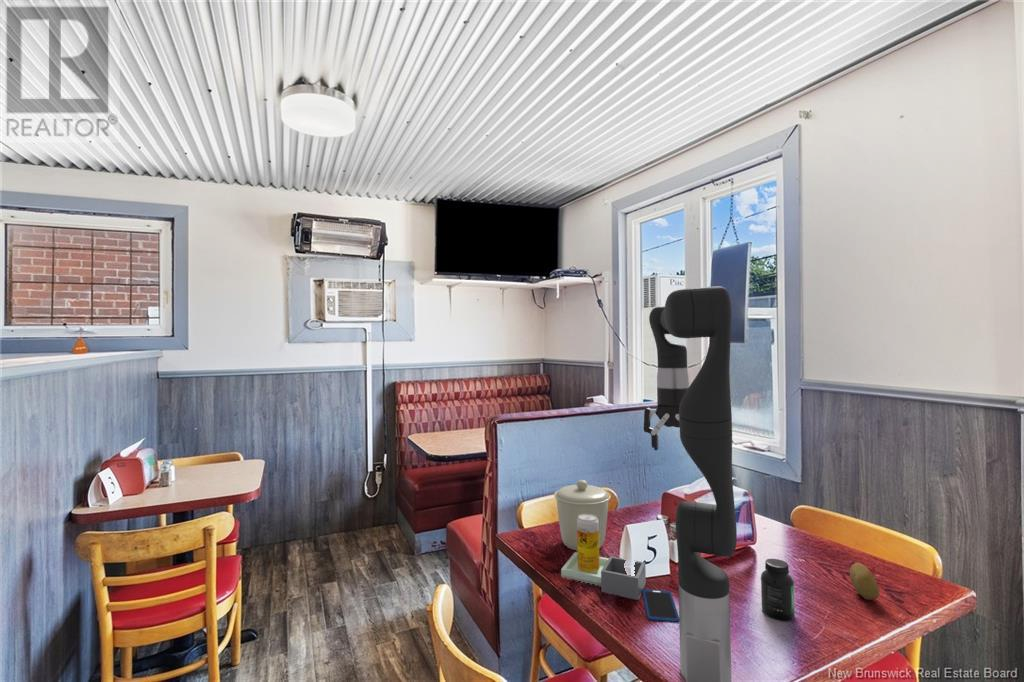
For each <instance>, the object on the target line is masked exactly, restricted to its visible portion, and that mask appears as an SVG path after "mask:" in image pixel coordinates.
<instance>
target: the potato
mask: <svg viewBox="0 0 1024 682" xmlns="http://www.w3.org/2000/svg"><path fill="white" fill-rule="evenodd" d="M849 577H850V578H849V579H850V582H851V584H852V586H853V588H854V590H855V591H856V592H857V593H858V594H859V595H860V596H862V598H864V599H865V600H867V601H869V600H872V601H873V600H876V599H878V598H879V596H880V587H879V584H878V582H877V580H876V579H875V576H874V575H873V574H872V572H871V571H870V569H869V568H868V567H867V566H865V565H864V564H863V563H860V562H855V563H854V564H852V565H851V566H850V570H849Z"/></svg>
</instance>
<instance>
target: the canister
mask: <svg viewBox="0 0 1024 682" xmlns="http://www.w3.org/2000/svg"><path fill="white" fill-rule="evenodd" d="M553 496H554V498H555V500H556V507H557V515H558V523H559V530H560V535H561V536H560V537H561V540H562V542H563V544H564V546H567V547H566V548H568V549H569V548H571V549H570V550H572V549H573V550H572V551H574V550H576V551H575V552H578V546H577V519H578V516H579V515H581V514H592V515H595V516H597V519H598V521H599V549H601V548H602V547H603V546H604V543H605V539H606V531H607V522H608V512H609V511H608V510H609V501H610V499H611V494H610V493H609V492H608V491H607V490H605V489H603V488H601V487H599V486H597V485H596V486H595V485H591V484H588V482H587V481H586V480H584V479H579V480H577V482H576V484H571V485H565V486H562V487H561V488H559V489H558V490H556V491H554V494H553ZM601 546H602V547H601Z"/></svg>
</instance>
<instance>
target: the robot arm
mask: <svg viewBox="0 0 1024 682" xmlns="http://www.w3.org/2000/svg"><path fill="white" fill-rule="evenodd" d="M648 321H649V322H648V323H649V326H650V328H651V331H652V334H653V335H652V336H653V337H654V338H653V339H654V342H655V346H656V351H657V352H656V354H657V357H656V358H657V373H656V392H657V393H656V396H657V399H656V400H657V401H656V402H657V403H656V404H657V406H656V408H655V409H654V408H650V407H647V408H644V410H643V411H644V412H643V416H644V417H643V432H644V433H647V434H650V437H651V439H650V440H651V448H653V450H654V451H658V450H659V434H658V432H659V431H660V430H661V429H662V427H663V426H665V427H666V428H671V427H673V428H679V438H680V441H681V444H682V446H683V448H684V449H685V451H686V453H687V454H688V456H689V458H690V459H691V460H692V462H693V463H694V464H695V466H696V468H698V470H699V471H700V473H702V475H703V477H704V479H705V480H706V483H707V484H708V486H709V487H710V489H711V492H712V495H713V497H714V501H715V504H712V503H707V502H696V501H688V500H682V501H681V502H679V503H678V505H677V508H676V510H675V536H676V548H677V571H678V575H677V576H678V579H677V580H678V616H679V623H678V624H679V626H678V627H679V661H680V662H679V665H680V666H679V667H680V674H681V677H682V678H683V679H684V680H685V682H732V656H731V655H732V650H731V647H732V645H731V642H732V641H731V605H730V604H731V602H730V601H731V599H730V598H731V597H730V596H731V595H730V593H731V592H730V580H729V575H728V574H727V572H725V570H723V569H722V568H721V567H719V566H718V565H715V564H714V563H712V562H710V561H708V560H707V559H706V558H704V557H703V556H701V555H700V554H704V555H705V554H706V555H712V556H717V557H732V556H733V555H734V553H735V551H736V548H737V537H738V535H737V530H738V529H737V520H736V519H737V518H736V517H737V516H736V507H735V498H734V497H735V496H734V485H733V417H732V416H733V414H732V413H733V412H732V399H731V384H730V383H731V381H730V380H731V379H730V378H731V376H730V375H731V374H730V363H731V362H730V361H731V341H732V340H731V339H732V337H731V336H732V302H731V297H730V294H729V291H728V290H727V288H725V287H724V286H720V285H719V286H704V287H701V286H700V287H692V288H690V287H689V288H681V289H676V290H673V291H672V292H670V293H669V294H668V296H667V297H666V299H665V304H664V306H662V305H661V306H656V307H653V308H652V310H651V311H650V313H649V317H648ZM665 335H671V336H673V337H675V338H677V339H678V338H679V339H694V338H695V339H697V338H709V343H708V350H707V353H706V356H705V358H704V362H703V364H702V365H701V367H700V369H699V371H698V372H697V374H696V376H695V378H694V379H693V380H692V382H691V383H690V380H689V372H688V351H687V350H688V349H687V347H686V346H685V344H682V343H676V342H671V341H669V340H668V339H667V337H666V336H665ZM654 415H656V416H657V417H658V419H659V421H658V423H657V424H655V426H654V428H653V427H651V419H652V418H653V417H654Z"/></svg>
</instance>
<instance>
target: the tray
mask: <svg viewBox="0 0 1024 682" xmlns="http://www.w3.org/2000/svg"><path fill="white" fill-rule="evenodd" d="M609 558H610V557H608V558H607V557H604V556H599V567H600V568H599V570H598V571H597V573H595V574H591V573H586V572H581V571H580V569H579V568H578V551H574V553H573V554H572V555H571V556H570V558H569V559H568V560H567V561H566V563H565V564H564V565H563V566H562V567H561V569H560V572H561V573H560V578H561V577H566V578H570V579H574V580H577V581H576V582H578V581H581V582H580V583H583V582H585V583H584V584H587V583H590V584H589V585H592V584H595V585H594V586H597V585H599V586H598V587H601V570H602V569H603V567H604V566H605V564H606V562H607V561H608V559H609Z"/></svg>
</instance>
